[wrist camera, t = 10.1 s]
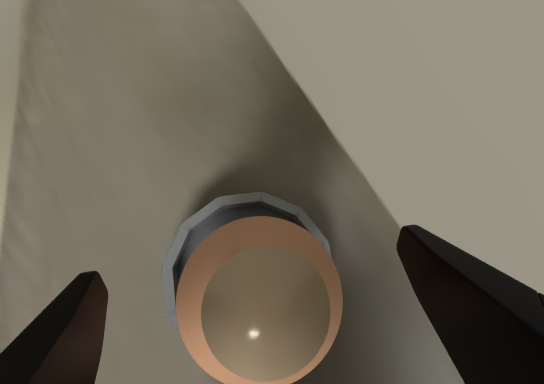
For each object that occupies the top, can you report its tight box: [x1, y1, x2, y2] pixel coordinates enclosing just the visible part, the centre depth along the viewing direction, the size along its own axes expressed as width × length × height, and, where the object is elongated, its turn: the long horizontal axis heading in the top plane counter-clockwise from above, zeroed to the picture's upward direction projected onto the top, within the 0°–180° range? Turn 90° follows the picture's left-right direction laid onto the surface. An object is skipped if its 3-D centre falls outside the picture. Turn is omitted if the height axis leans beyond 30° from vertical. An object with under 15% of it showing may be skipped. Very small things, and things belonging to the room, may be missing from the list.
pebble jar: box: [176, 216, 343, 384], centre depth 15 cm, size 6×6×12 cm
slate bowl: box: [162, 191, 332, 337], centre depth 21 cm, size 10×10×2 cm
